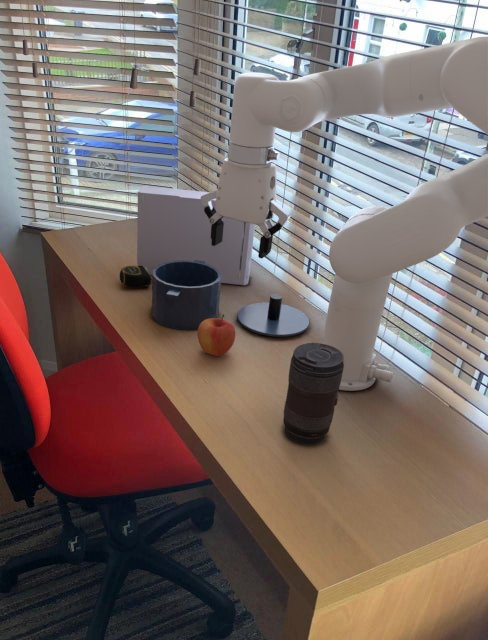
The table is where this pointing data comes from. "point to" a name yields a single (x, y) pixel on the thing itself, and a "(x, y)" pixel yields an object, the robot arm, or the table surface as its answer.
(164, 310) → the pot
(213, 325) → the apple
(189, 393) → the table surface
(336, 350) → the camera lens
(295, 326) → the lid
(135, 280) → the tape measure
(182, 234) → the game console
